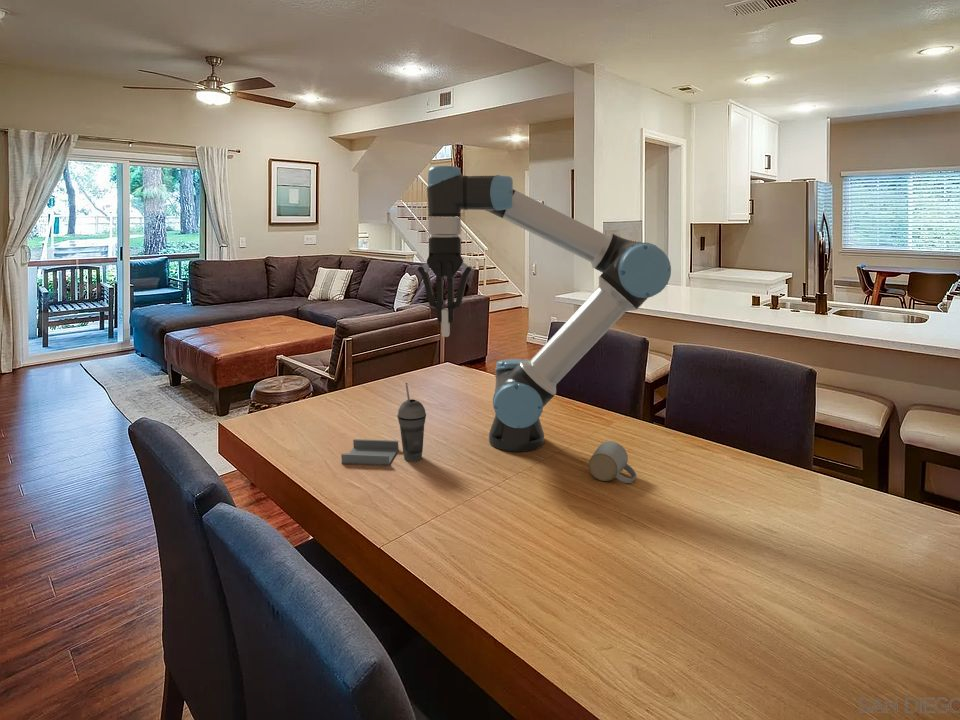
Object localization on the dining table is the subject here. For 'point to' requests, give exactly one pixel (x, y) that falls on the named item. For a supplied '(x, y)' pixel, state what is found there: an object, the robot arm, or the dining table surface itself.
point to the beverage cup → (412, 428)
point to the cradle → (371, 452)
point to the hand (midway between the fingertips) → (445, 335)
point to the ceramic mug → (610, 463)
